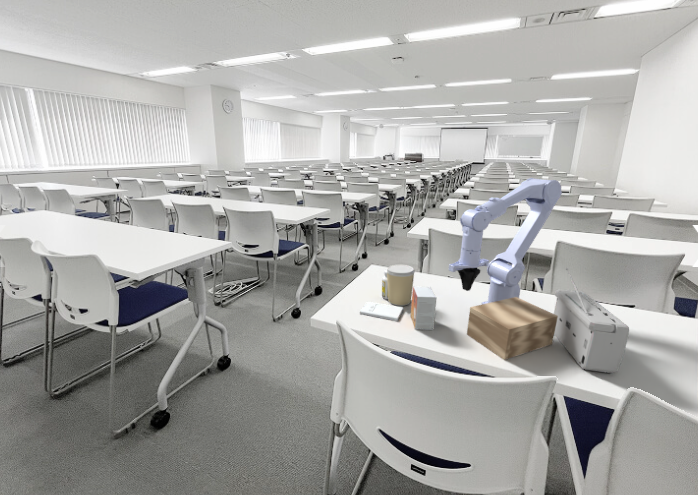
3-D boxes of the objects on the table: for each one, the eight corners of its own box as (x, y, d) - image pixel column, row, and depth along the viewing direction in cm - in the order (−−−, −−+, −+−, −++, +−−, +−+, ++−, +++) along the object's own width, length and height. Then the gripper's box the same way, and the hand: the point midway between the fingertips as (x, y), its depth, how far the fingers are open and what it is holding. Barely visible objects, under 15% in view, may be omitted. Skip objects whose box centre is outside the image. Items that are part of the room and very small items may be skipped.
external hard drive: (397, 322, 101) (359, 315, 105) (403, 311, 108) (367, 304, 112) (397, 318, 100) (359, 310, 104) (403, 306, 108) (367, 300, 112)
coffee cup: (418, 303, 112) (420, 270, 109) (396, 309, 108) (397, 275, 105) (401, 293, 120) (402, 262, 117) (380, 299, 116) (381, 266, 112)
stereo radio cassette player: (619, 377, 76) (641, 299, 71) (580, 373, 78) (599, 295, 72) (575, 331, 96) (590, 267, 91) (545, 328, 98) (558, 265, 92)
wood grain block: (511, 322, 101) (516, 296, 98) (551, 344, 89) (557, 315, 87) (466, 334, 94) (470, 307, 91) (504, 359, 82) (509, 329, 80)
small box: (410, 316, 103) (412, 285, 101) (428, 317, 103) (430, 286, 100) (414, 329, 96) (417, 296, 93) (433, 330, 96) (436, 297, 93)
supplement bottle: (399, 295, 118) (400, 270, 115) (392, 301, 113) (393, 274, 111) (386, 292, 121) (386, 267, 118) (379, 297, 116) (379, 271, 114)
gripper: (478, 243, 107) (474, 281, 111) (443, 248, 101) (440, 288, 105) (496, 248, 101) (490, 289, 105) (459, 254, 95) (455, 297, 99)
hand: (466, 289), depth 105 cm, fingers closed
